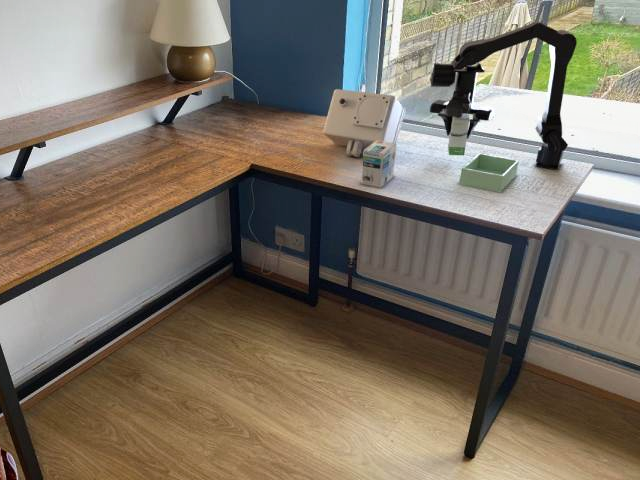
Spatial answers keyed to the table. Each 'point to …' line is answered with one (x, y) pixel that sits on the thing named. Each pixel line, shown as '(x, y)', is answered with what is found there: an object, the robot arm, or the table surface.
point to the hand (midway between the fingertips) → (457, 136)
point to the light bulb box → (378, 163)
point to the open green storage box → (489, 172)
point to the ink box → (458, 135)
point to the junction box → (363, 119)
